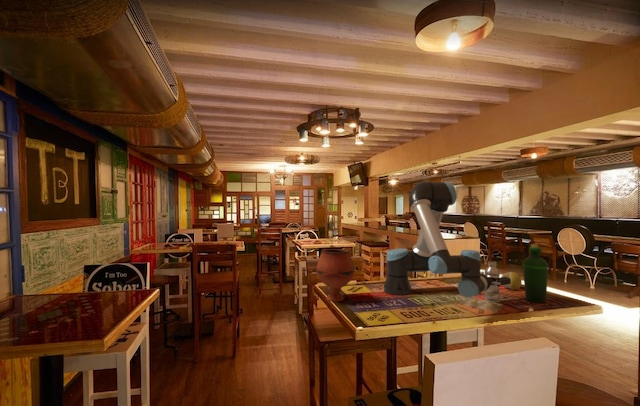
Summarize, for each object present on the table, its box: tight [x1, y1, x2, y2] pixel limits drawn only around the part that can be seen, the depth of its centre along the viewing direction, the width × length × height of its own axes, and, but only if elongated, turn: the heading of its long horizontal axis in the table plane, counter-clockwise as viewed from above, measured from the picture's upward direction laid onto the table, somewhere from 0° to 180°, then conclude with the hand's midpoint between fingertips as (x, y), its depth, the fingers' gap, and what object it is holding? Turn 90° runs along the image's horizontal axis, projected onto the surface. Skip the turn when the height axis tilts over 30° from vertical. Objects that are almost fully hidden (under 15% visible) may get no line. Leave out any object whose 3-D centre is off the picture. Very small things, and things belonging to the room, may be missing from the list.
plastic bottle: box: [484, 260, 501, 304], centre depth 154 cm, size 6×7×20 cm
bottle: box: [522, 243, 549, 304], centre depth 157 cm, size 11×11×28 cm
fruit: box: [500, 271, 523, 291], centre depth 179 cm, size 10×11×10 cm
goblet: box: [316, 248, 355, 302], centre depth 160 cm, size 19×19×25 cm
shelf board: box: [459, 296, 504, 313], centre depth 148 cm, size 16×9×4 cm, turn 44°
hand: (495, 275), depth 157 cm, fingers open, 10 cm apart
